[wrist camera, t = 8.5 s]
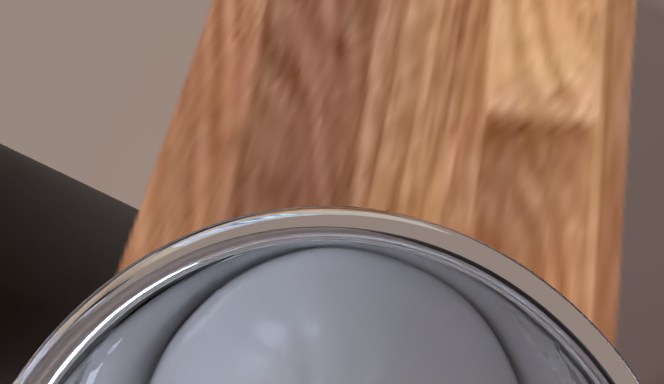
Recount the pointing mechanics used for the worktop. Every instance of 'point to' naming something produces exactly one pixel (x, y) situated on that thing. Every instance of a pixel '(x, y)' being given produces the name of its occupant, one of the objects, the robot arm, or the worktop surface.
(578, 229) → the worktop surface
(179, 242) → the metal tumbler
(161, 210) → the worktop surface
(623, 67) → the worktop surface
